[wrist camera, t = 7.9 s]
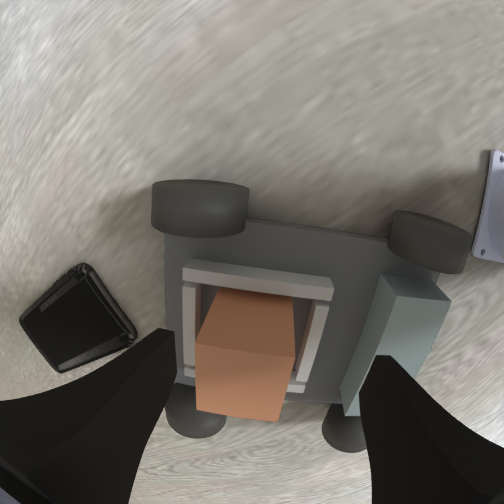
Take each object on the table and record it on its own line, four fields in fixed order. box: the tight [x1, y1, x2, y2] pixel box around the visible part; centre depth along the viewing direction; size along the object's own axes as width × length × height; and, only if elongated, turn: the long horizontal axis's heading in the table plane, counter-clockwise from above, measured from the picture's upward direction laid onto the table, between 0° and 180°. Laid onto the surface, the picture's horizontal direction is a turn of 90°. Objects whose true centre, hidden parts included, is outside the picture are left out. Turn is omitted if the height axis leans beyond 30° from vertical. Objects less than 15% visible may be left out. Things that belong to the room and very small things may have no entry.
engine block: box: [195, 286, 295, 422], centre depth 16 cm, size 4×5×6 cm
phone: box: [19, 263, 137, 373], centre depth 22 cm, size 8×1×15 cm
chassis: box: [151, 180, 473, 453], centre depth 17 cm, size 18×18×5 cm
